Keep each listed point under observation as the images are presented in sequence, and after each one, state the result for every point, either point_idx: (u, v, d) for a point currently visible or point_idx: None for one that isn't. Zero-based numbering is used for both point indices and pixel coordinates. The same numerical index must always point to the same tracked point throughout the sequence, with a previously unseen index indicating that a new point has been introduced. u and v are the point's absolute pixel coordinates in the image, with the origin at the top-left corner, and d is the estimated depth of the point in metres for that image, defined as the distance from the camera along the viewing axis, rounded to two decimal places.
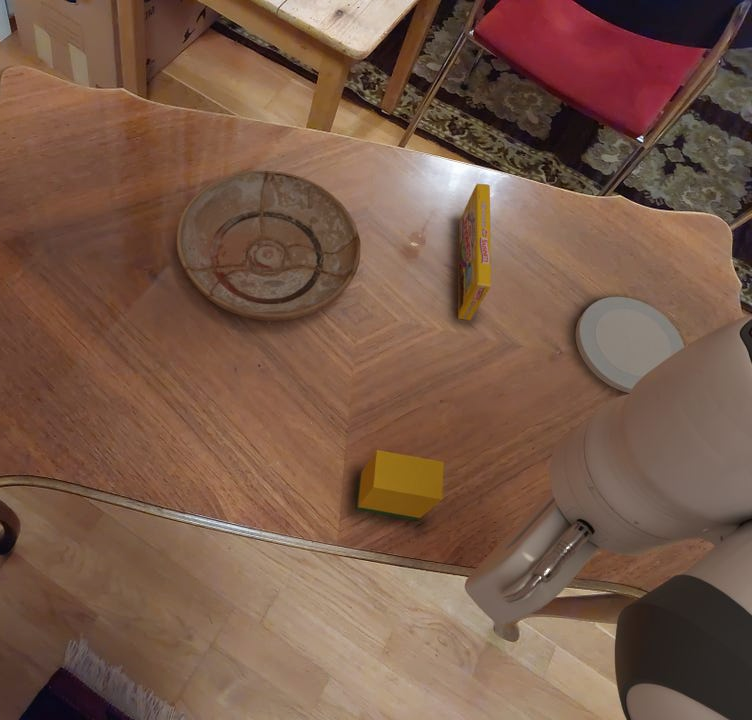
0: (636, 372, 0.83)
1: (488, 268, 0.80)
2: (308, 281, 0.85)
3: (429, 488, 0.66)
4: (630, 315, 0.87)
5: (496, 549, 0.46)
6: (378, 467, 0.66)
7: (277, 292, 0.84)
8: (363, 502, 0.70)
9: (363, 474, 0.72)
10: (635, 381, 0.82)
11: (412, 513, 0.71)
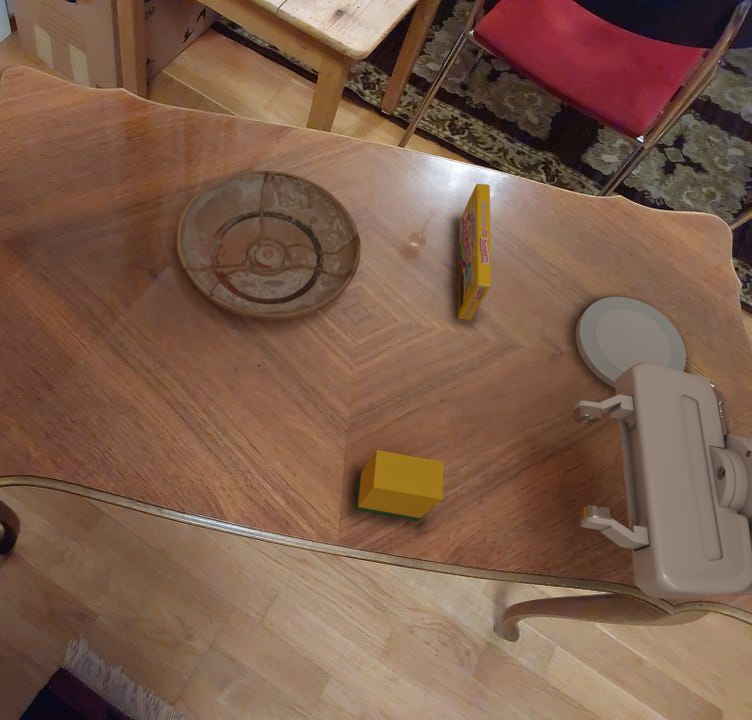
0: None
1: (488, 268, 0.80)
2: (308, 281, 0.85)
3: (429, 488, 0.66)
4: (630, 315, 0.87)
5: None
6: (378, 467, 0.66)
7: (277, 292, 0.84)
8: (363, 502, 0.70)
9: (363, 474, 0.72)
10: None
11: (412, 513, 0.71)
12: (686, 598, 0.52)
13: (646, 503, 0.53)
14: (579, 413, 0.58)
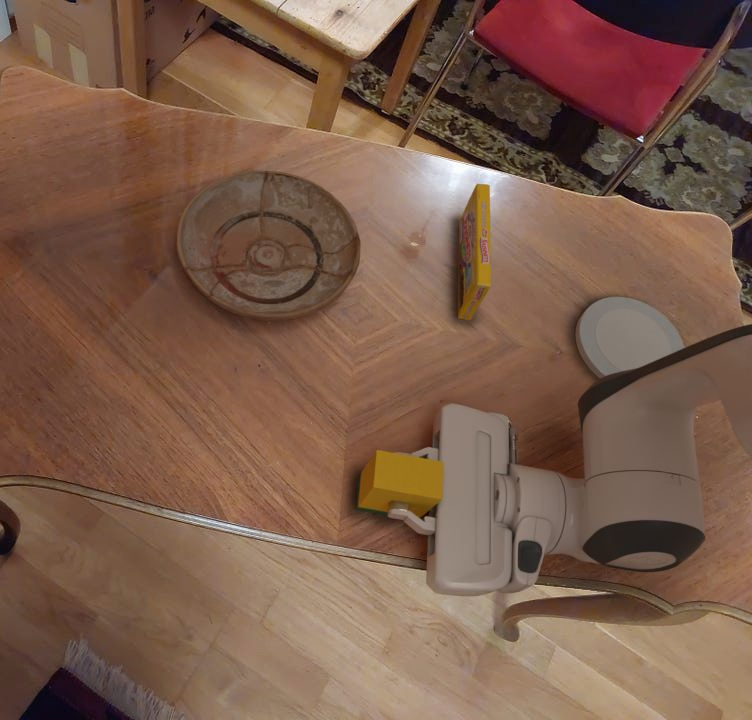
0: None
1: (488, 268, 0.80)
2: (308, 281, 0.85)
3: (429, 488, 0.66)
4: (630, 315, 0.87)
5: None
6: (378, 467, 0.66)
7: (277, 292, 0.84)
8: (363, 502, 0.70)
9: (363, 474, 0.72)
10: None
11: None
12: (463, 595, 0.66)
13: (436, 518, 0.67)
14: None
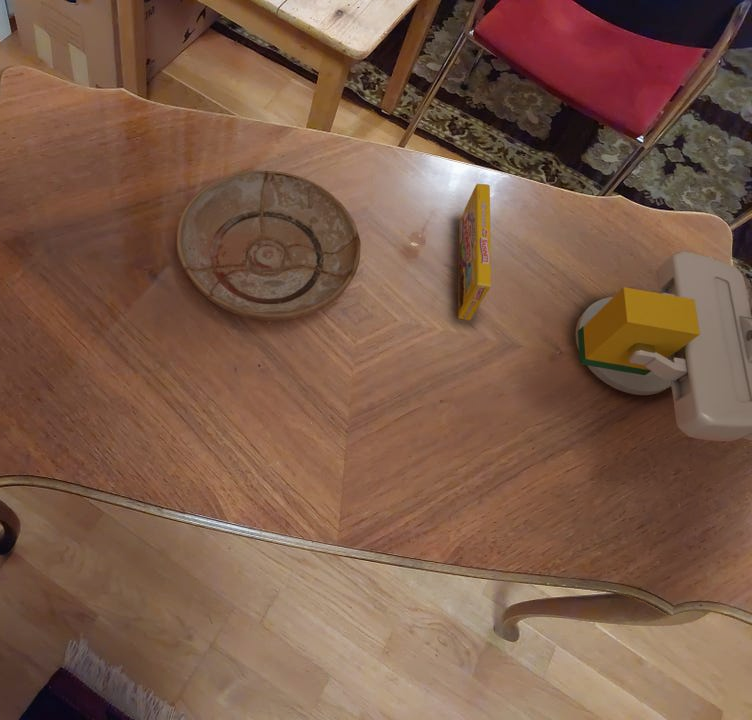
0: None
1: (488, 268, 0.80)
2: (308, 281, 0.85)
3: (684, 323, 0.62)
4: None
5: None
6: (629, 303, 0.63)
7: (277, 292, 0.84)
8: (597, 350, 0.67)
9: (590, 325, 0.69)
10: (635, 381, 0.82)
11: None
12: (720, 436, 0.62)
13: (687, 359, 0.63)
14: None
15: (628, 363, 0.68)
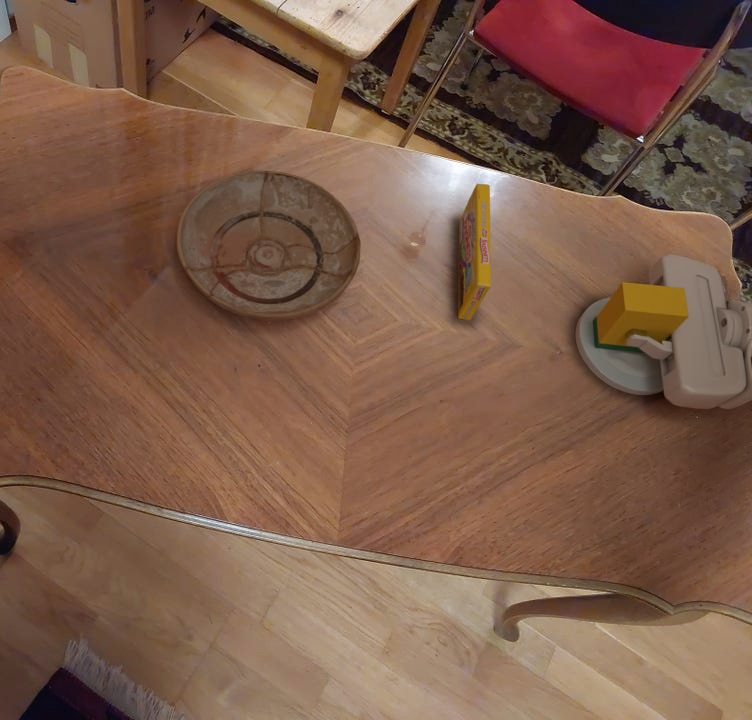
0: (636, 372, 0.83)
1: (488, 268, 0.80)
2: (308, 281, 0.85)
3: (675, 308, 0.76)
4: None
5: None
6: (626, 295, 0.77)
7: (277, 292, 0.84)
8: (606, 335, 0.81)
9: (601, 315, 0.83)
10: (635, 381, 0.82)
11: None
12: (700, 404, 0.77)
13: (673, 342, 0.78)
14: None
15: None
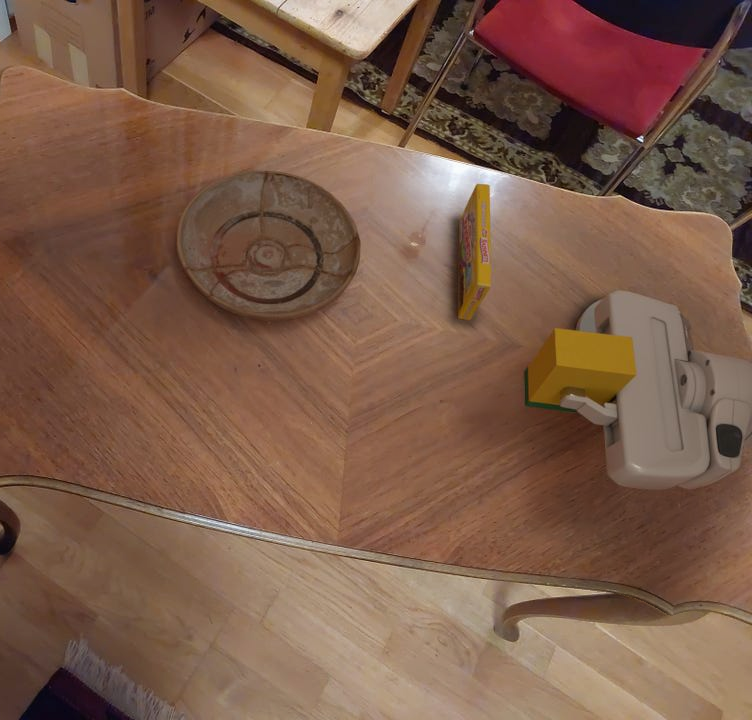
0: None
1: (488, 268, 0.80)
2: (308, 281, 0.85)
3: (619, 364, 0.59)
4: None
5: None
6: (559, 345, 0.60)
7: (277, 292, 0.84)
8: (537, 392, 0.64)
9: (532, 365, 0.66)
10: None
11: None
12: (651, 486, 0.60)
13: (618, 405, 0.61)
14: None
15: None
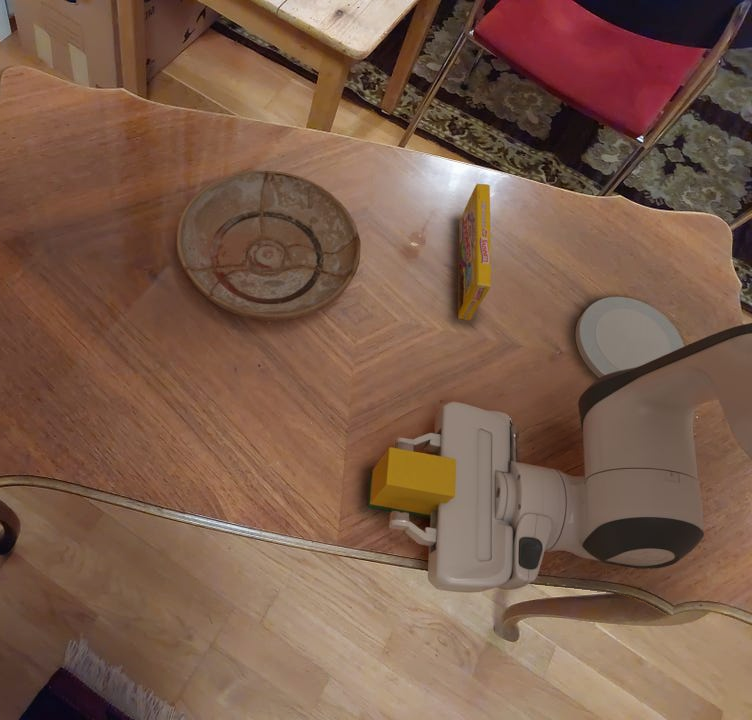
0: None
1: (488, 268, 0.80)
2: (308, 281, 0.85)
3: (441, 485, 0.66)
4: (630, 315, 0.87)
5: None
6: (391, 464, 0.66)
7: (277, 292, 0.84)
8: (375, 499, 0.70)
9: (375, 471, 0.72)
10: None
11: (423, 510, 0.71)
12: (465, 591, 0.66)
13: (438, 515, 0.68)
14: None
15: (408, 509, 0.72)
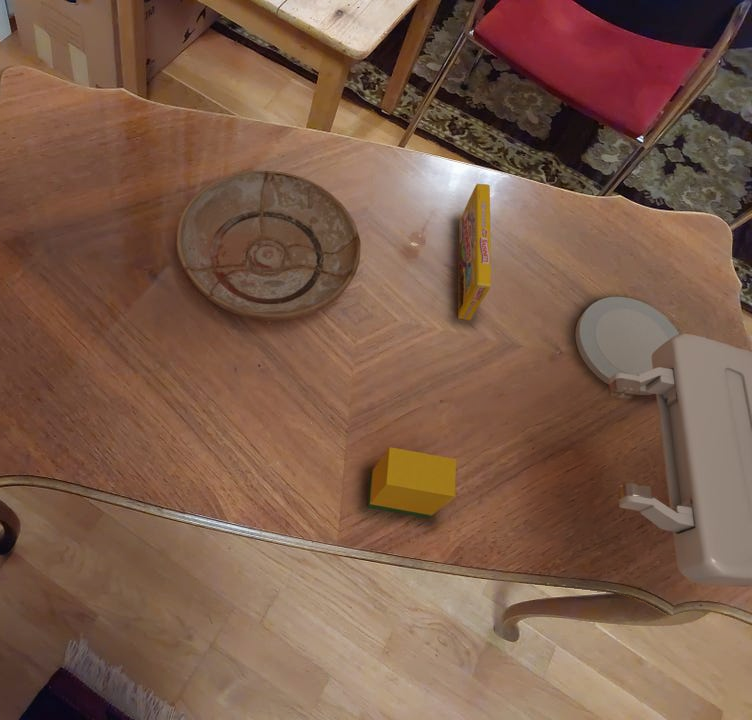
0: (636, 372, 0.83)
1: (488, 268, 0.80)
2: (308, 281, 0.85)
3: (441, 485, 0.66)
4: (630, 315, 0.87)
5: None
6: (391, 464, 0.66)
7: (277, 292, 0.84)
8: (375, 499, 0.70)
9: (375, 471, 0.72)
10: None
11: (423, 510, 0.71)
12: (734, 585, 0.48)
13: (690, 482, 0.49)
14: (615, 386, 0.54)
15: (408, 509, 0.72)
